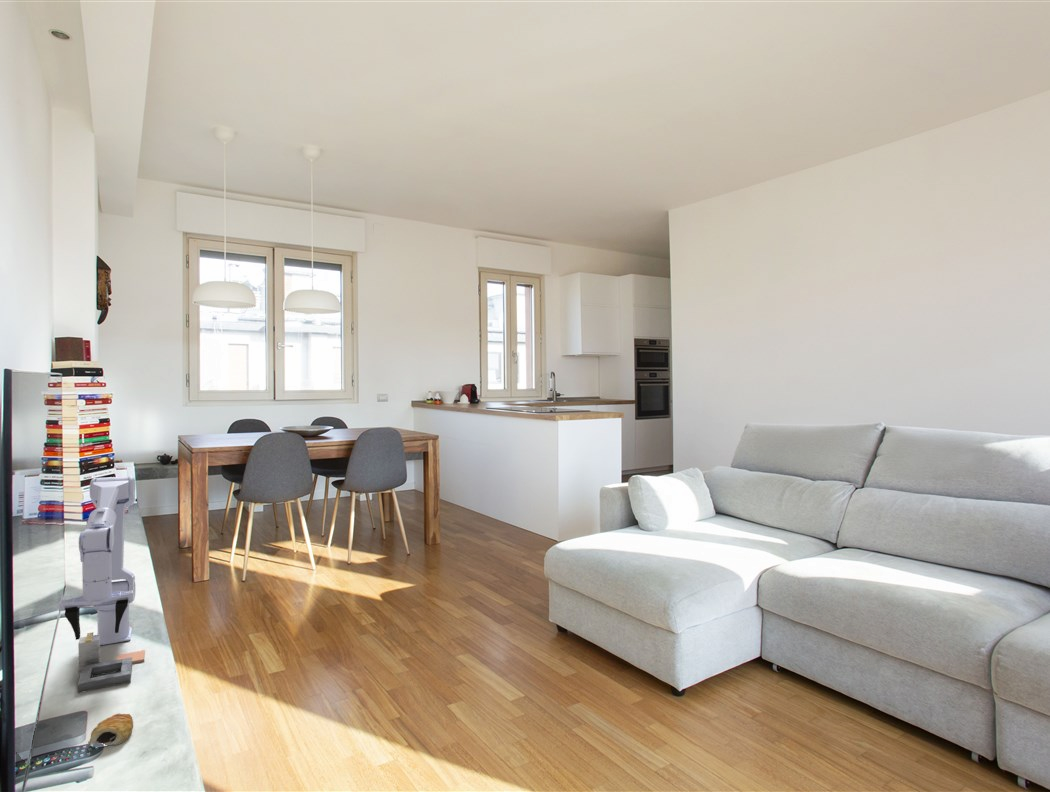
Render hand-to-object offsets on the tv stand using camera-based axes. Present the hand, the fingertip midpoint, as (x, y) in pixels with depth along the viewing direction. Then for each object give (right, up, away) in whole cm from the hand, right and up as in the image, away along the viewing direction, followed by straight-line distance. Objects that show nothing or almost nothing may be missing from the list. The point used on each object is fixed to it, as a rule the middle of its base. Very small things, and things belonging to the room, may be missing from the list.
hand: (97, 634), depth 149 cm
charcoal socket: (+3, -10, -2) cm, 10 cm away
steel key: (-5, -10, +4) cm, 11 cm away
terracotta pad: (+3, -9, +8) cm, 13 cm away
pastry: (+20, -11, -25) cm, 34 cm away
